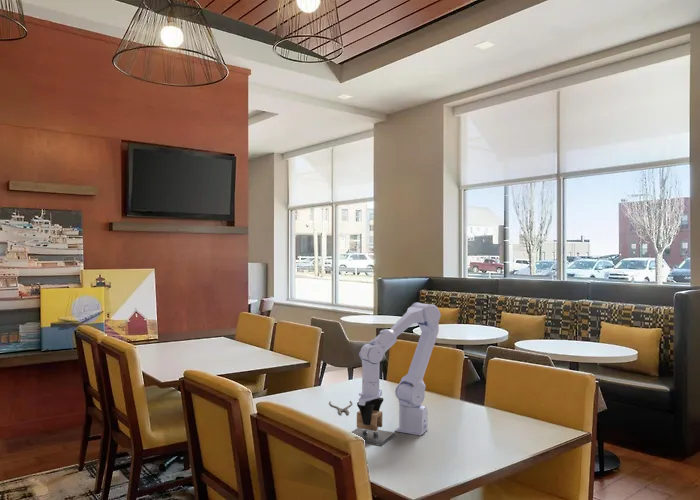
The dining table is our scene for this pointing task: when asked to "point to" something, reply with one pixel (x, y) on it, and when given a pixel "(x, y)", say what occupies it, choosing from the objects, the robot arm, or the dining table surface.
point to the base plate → (374, 435)
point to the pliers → (341, 408)
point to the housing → (375, 420)
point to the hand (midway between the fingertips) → (370, 422)
